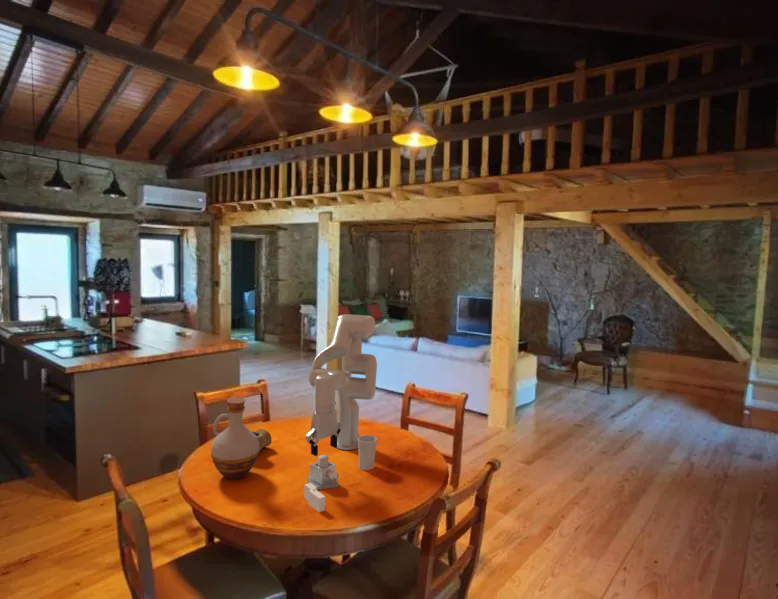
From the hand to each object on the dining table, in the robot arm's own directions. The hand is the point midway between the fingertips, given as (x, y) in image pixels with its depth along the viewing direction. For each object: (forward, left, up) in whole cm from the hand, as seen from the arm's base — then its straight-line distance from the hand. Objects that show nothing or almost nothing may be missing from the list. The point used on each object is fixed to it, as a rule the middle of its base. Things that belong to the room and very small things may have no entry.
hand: (324, 450), depth 181 cm
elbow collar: (0, +2, -11) cm, 11 cm away
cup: (-20, -8, -12) cm, 25 cm away
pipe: (+23, -33, -12) cm, 42 cm away
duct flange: (0, +1, -12) cm, 12 cm away
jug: (+32, -14, -12) cm, 38 cm away
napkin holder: (+6, +15, -13) cm, 21 cm away
